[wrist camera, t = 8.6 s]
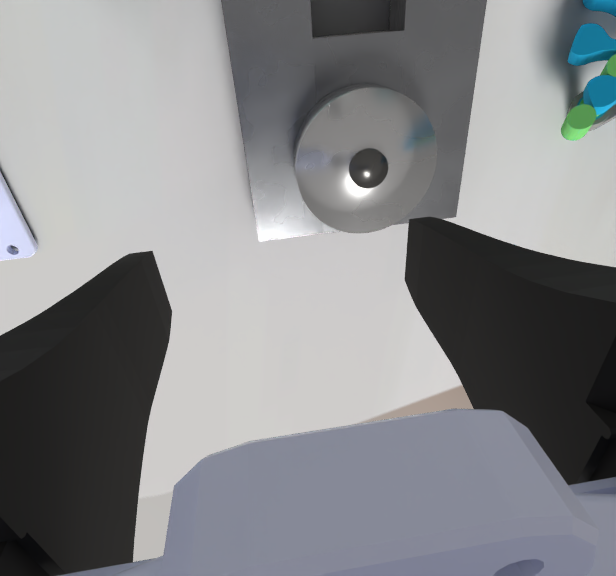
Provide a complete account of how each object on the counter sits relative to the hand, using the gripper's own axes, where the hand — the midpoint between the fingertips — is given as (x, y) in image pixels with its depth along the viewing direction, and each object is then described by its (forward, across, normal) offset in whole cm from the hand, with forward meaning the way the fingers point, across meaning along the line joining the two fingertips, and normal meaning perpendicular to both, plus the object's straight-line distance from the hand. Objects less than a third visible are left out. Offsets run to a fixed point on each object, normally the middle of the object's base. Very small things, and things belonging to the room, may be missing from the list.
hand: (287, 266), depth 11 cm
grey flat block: (+10, -4, -4) cm, 11 cm away
